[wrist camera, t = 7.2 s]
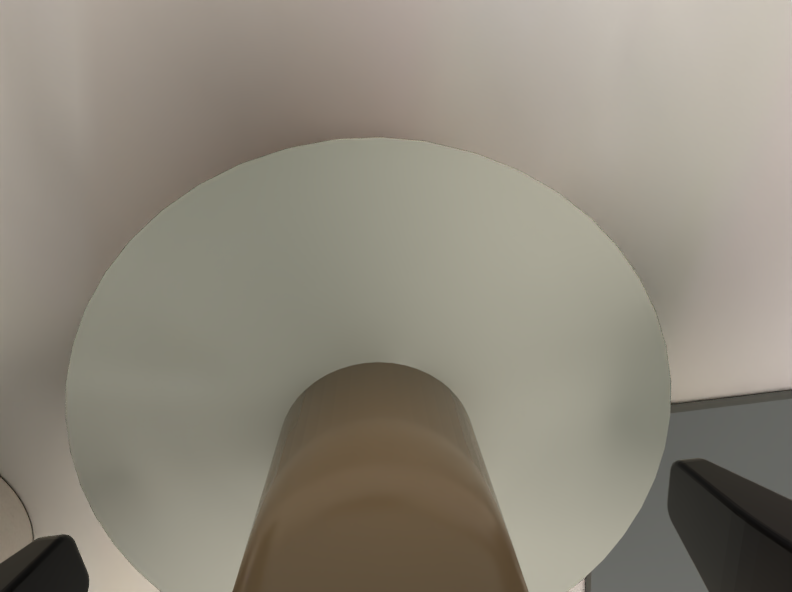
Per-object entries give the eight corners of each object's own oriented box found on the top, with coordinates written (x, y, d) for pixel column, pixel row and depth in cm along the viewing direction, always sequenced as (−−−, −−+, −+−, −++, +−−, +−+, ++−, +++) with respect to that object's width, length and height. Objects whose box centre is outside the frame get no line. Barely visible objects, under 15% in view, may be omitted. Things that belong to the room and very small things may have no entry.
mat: (993, 365, 14) (1010, 372, 14) (899, 651, 18) (910, 662, 18) (589, 414, 14) (596, 422, 14) (582, 691, 18) (587, 704, 18)
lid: (668, 101, 8) (1242, 45, 3) (633, 594, 12) (852, 981, 6) (1, 177, 8) (-751, 271, 3) (173, 650, 12) (5, 1094, 6)
